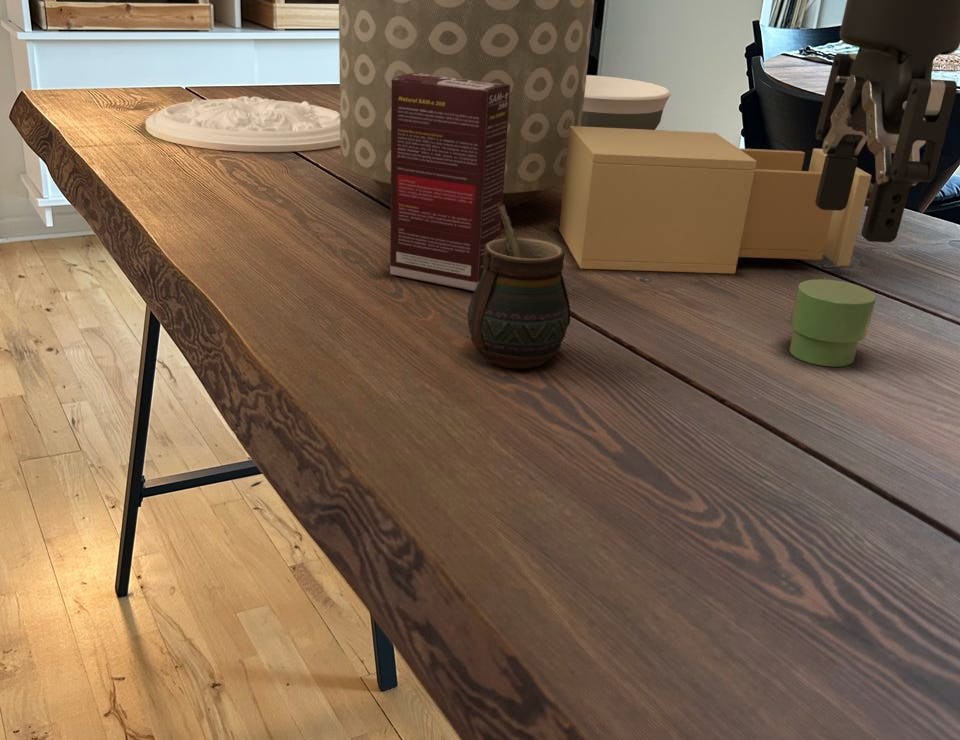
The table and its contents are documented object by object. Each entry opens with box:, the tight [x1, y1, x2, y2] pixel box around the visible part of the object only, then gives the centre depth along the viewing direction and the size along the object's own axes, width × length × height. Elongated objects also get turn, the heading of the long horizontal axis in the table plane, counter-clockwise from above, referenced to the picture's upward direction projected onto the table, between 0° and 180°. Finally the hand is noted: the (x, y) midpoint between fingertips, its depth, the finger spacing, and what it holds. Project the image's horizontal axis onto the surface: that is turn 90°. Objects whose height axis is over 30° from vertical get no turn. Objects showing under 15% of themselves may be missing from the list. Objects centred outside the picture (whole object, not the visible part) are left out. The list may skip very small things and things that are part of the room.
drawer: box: [737, 147, 874, 267], centre depth 99 cm, size 18×11×8 cm, turn 95°
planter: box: [338, 0, 595, 210], centre depth 105 cm, size 25×25×24 cm
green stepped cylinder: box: [789, 278, 877, 368], centre depth 77 cm, size 6×6×5 cm
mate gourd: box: [467, 204, 571, 370], centre depth 72 cm, size 7×8×10 cm
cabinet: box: [558, 126, 757, 275], centre depth 97 cm, size 15×13×10 cm
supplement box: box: [389, 73, 510, 292], centre depth 85 cm, size 9×5×16 cm, turn 65°
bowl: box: [581, 74, 672, 130], centre depth 139 cm, size 19×19×8 cm
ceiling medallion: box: [145, 95, 340, 153], centre depth 138 cm, size 28×28×3 cm
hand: (852, 224), depth 73 cm, fingers open, 8 cm apart
